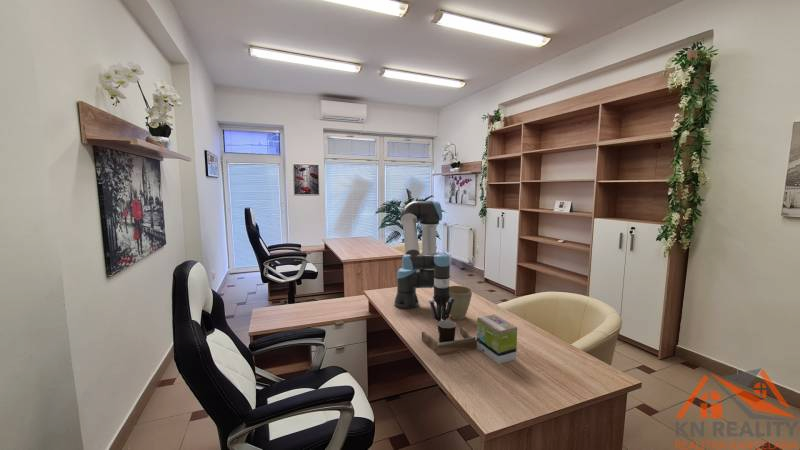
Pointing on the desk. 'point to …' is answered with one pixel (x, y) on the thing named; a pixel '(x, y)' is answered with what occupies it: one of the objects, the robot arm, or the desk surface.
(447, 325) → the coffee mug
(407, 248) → the robot arm
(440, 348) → the organizer
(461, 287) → the plant pot
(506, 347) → the tea box
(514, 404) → the desk surface
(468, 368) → the desk surface
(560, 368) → the desk surface
